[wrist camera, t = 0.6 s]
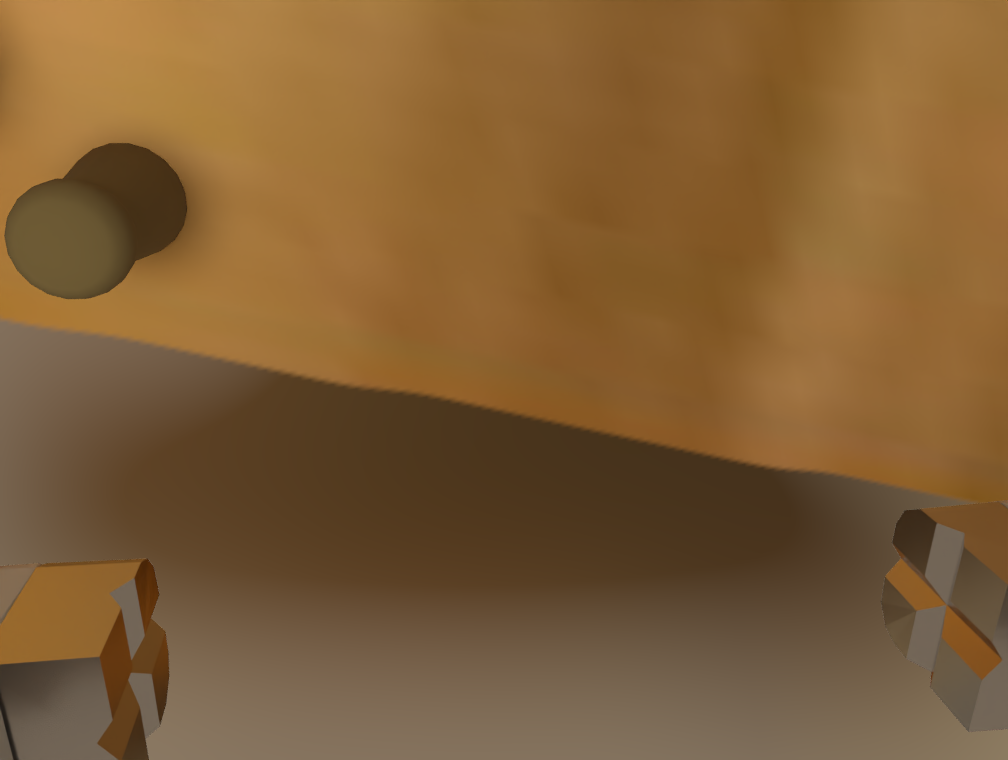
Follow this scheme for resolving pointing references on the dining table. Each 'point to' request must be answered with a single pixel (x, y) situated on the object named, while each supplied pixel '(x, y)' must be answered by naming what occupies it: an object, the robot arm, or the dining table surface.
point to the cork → (95, 221)
